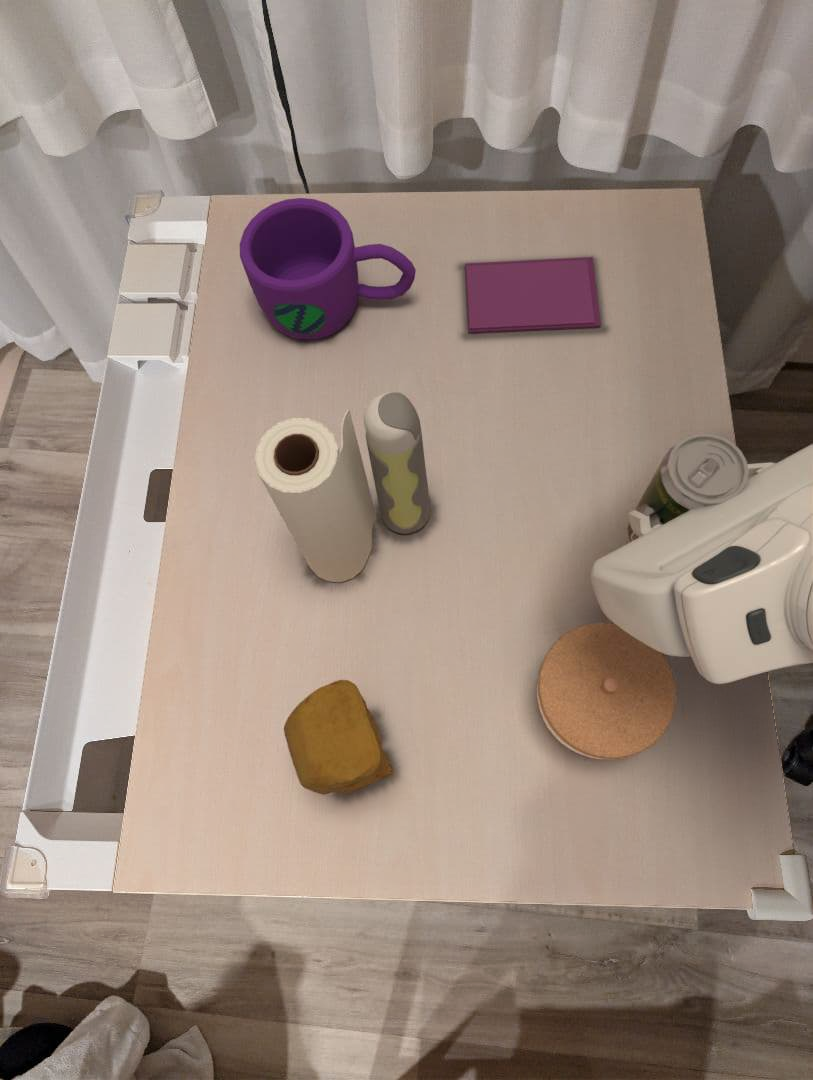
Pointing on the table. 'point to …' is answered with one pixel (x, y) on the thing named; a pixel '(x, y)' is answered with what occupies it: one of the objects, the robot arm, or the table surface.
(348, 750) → the wooden tiki figurine
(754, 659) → the robot arm
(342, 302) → the mug
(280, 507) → the paper towel roll
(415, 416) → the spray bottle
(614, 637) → the trinket box
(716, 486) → the beer can
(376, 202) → the table surface
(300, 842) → the table surface
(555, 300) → the flat purple rectangular slab
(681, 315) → the table surface
